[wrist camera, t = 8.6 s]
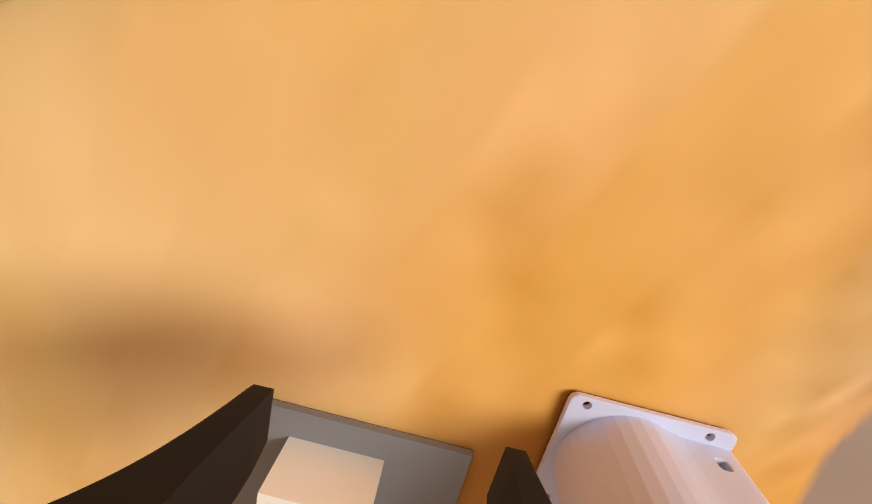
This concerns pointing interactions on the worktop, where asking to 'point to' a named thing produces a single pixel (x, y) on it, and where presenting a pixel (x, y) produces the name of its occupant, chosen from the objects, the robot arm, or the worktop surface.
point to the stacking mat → (402, 453)
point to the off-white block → (320, 476)
